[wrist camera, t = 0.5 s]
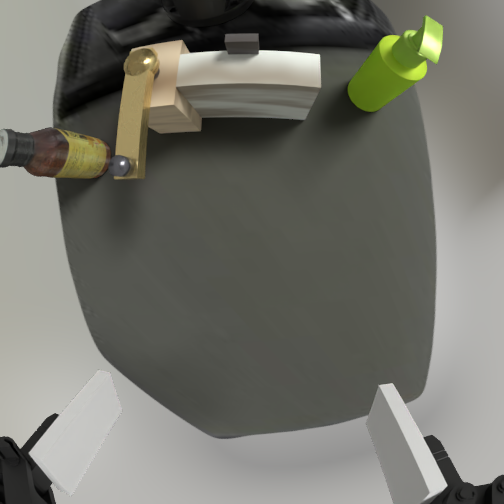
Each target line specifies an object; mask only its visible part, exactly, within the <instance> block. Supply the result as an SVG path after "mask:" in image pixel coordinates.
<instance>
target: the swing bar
mask: <svg viewBox="0 0 504 504" xmlns="http://www.w3.org/2000/svg"><path fill="white" fill-rule="evenodd" d="M157 57H158V53H157V52H156V51H155V50H154V49H153V47H151V48H142V49H138V50H136V51H131V52H130V55H129V56H128V57H127V59H126V61H125V63H124V71H125V73H126V74H125V80H124V86H123V92H122V98H121V105H120V113H119V121H118V131H117V141H116V154H115V156H114V157H112V158H111V160H110V162H109V165H108V169H109V172H110V174H111V175H113V176H114V179H118V180H130V179H145V164H146V147H147V134H148V123H149V113H150V104H151V96H152V89H153V82H154V75H155V74H156V73H157V71H158V69H159V66H160V61H159V59H158V58H157Z"/></svg>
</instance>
